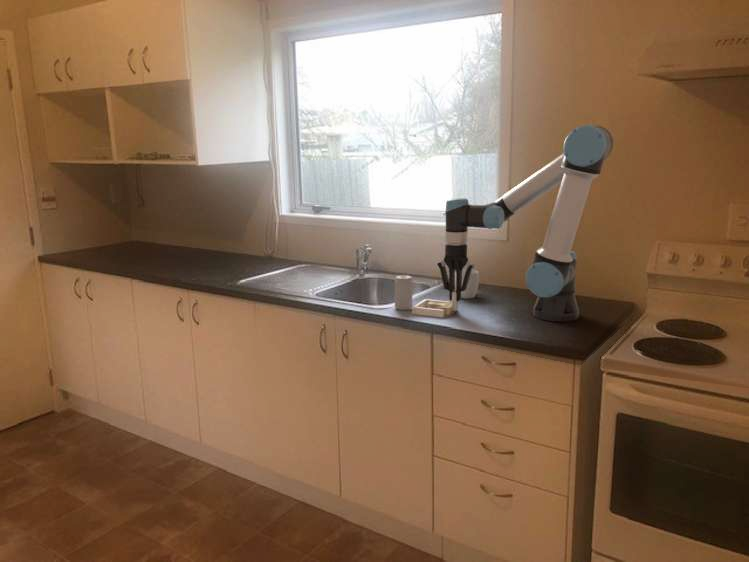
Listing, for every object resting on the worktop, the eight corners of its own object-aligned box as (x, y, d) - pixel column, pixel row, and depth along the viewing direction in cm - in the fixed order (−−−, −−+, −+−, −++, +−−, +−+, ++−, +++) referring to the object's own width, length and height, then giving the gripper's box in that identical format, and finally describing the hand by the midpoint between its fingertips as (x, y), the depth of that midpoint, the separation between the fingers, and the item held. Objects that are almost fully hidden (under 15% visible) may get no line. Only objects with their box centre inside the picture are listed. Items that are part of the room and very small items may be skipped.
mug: (470, 300, 236) (471, 275, 234) (450, 297, 242) (450, 272, 239) (486, 294, 246) (487, 269, 244) (467, 291, 251) (467, 266, 249)
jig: (454, 308, 225) (454, 302, 225) (443, 317, 214) (443, 310, 214) (424, 305, 230) (425, 299, 229) (412, 314, 219) (412, 307, 218)
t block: (456, 310, 223) (457, 302, 222) (448, 316, 215) (448, 308, 214) (433, 307, 227) (433, 299, 226) (424, 313, 219) (424, 305, 218)
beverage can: (411, 306, 229) (411, 274, 226) (413, 311, 223) (413, 278, 220) (394, 306, 229) (394, 275, 226) (395, 311, 223) (395, 278, 220)
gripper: (477, 242, 214) (475, 308, 219) (441, 240, 219) (441, 305, 224) (471, 246, 207) (469, 314, 212) (434, 243, 213) (433, 310, 218)
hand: (454, 309), depth 218 cm, fingers closed
